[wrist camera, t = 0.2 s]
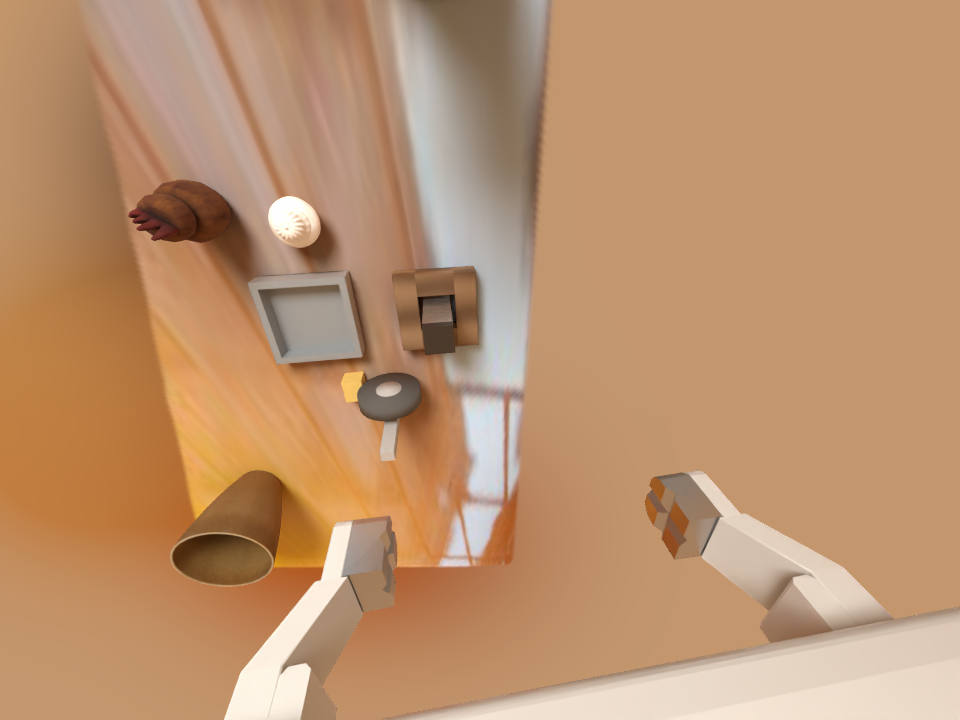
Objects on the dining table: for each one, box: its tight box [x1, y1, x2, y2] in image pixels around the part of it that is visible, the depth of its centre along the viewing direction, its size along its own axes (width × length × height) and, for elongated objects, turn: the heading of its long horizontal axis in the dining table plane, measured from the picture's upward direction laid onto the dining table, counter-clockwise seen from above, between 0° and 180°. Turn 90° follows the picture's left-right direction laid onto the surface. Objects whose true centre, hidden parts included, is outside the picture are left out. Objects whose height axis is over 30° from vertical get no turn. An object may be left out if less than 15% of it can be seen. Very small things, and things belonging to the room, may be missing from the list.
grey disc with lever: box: [341, 372, 422, 461], centre depth 58 cm, size 7×13×15 cm, turn 92°
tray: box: [247, 271, 365, 364], centre depth 55 cm, size 13×13×3 cm
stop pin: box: [422, 295, 455, 355], centre depth 53 cm, size 4×4×12 cm
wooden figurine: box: [129, 180, 231, 243], centre depth 41 cm, size 7×6×15 cm
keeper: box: [392, 266, 478, 351], centre depth 57 cm, size 12×12×3 cm
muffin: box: [268, 196, 321, 248], centre depth 46 cm, size 6×6×7 cm
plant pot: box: [170, 471, 282, 587], centre depth 66 cm, size 15×15×16 cm
